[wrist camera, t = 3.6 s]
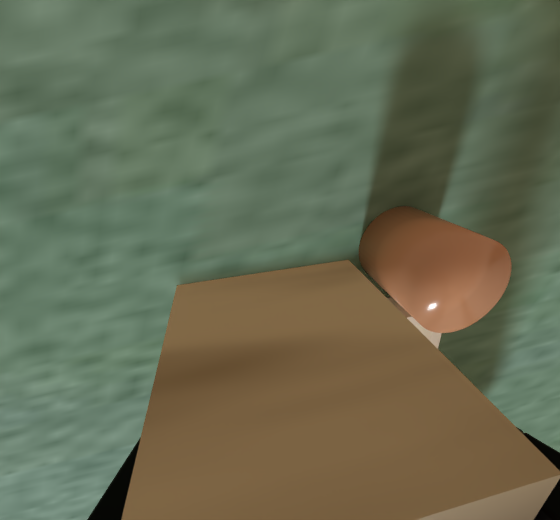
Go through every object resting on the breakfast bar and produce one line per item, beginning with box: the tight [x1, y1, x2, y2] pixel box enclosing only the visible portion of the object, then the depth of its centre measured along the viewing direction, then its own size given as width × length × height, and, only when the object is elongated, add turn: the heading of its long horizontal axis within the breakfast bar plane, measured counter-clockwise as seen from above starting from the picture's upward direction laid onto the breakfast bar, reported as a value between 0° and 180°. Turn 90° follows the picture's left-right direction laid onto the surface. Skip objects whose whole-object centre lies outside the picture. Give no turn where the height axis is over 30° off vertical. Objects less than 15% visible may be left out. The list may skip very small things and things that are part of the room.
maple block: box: [121, 260, 560, 520], centre depth 7 cm, size 5×5×6 cm
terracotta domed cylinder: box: [359, 206, 511, 333], centre depth 17 cm, size 5×5×6 cm
